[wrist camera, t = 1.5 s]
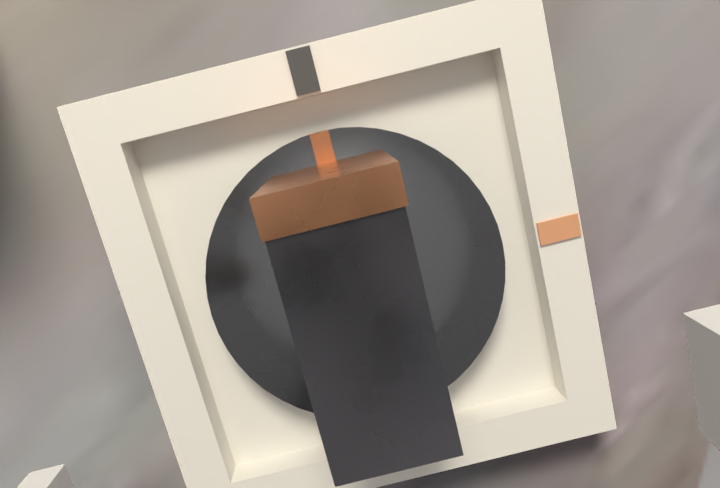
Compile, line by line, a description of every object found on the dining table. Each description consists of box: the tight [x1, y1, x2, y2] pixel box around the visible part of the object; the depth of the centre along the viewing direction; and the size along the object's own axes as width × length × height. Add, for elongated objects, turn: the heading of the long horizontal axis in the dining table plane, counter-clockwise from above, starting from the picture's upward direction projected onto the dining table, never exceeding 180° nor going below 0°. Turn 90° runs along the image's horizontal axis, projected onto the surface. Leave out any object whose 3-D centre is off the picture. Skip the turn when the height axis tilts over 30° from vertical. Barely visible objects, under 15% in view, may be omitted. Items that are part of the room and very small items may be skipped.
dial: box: [205, 127, 505, 487], centre depth 24 cm, size 13×13×9 cm
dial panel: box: [57, 0, 617, 488], centre depth 28 cm, size 20×20×3 cm
